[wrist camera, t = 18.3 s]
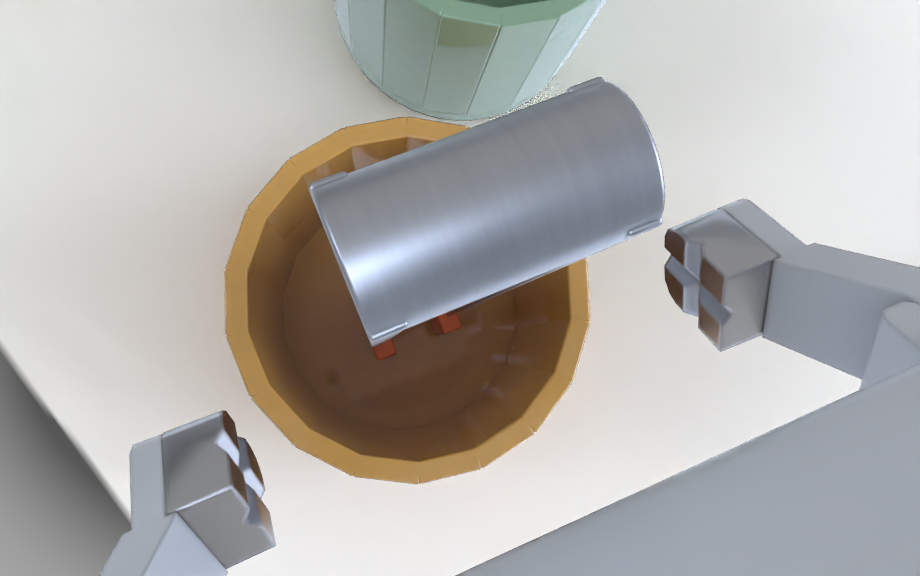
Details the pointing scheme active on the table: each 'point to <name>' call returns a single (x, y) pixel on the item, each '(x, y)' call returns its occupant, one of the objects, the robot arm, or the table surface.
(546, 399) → the ochre crock
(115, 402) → the table surface
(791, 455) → the robot arm
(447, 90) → the green crock
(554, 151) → the tongs
